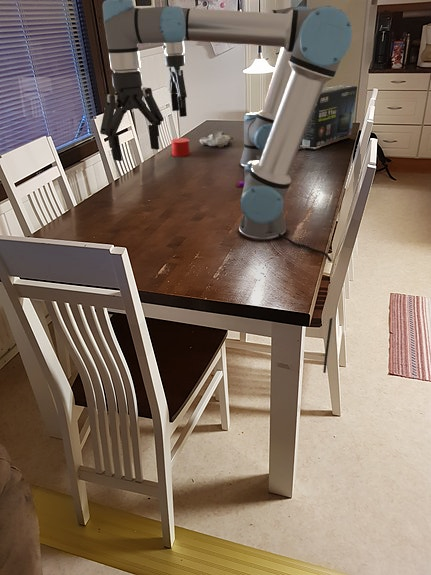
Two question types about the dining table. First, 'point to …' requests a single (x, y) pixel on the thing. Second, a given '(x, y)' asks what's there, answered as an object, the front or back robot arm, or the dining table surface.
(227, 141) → the fossil
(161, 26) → the front robot arm
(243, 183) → the handgun
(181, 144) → the tin
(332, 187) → the dining table surface
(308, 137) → the router box
